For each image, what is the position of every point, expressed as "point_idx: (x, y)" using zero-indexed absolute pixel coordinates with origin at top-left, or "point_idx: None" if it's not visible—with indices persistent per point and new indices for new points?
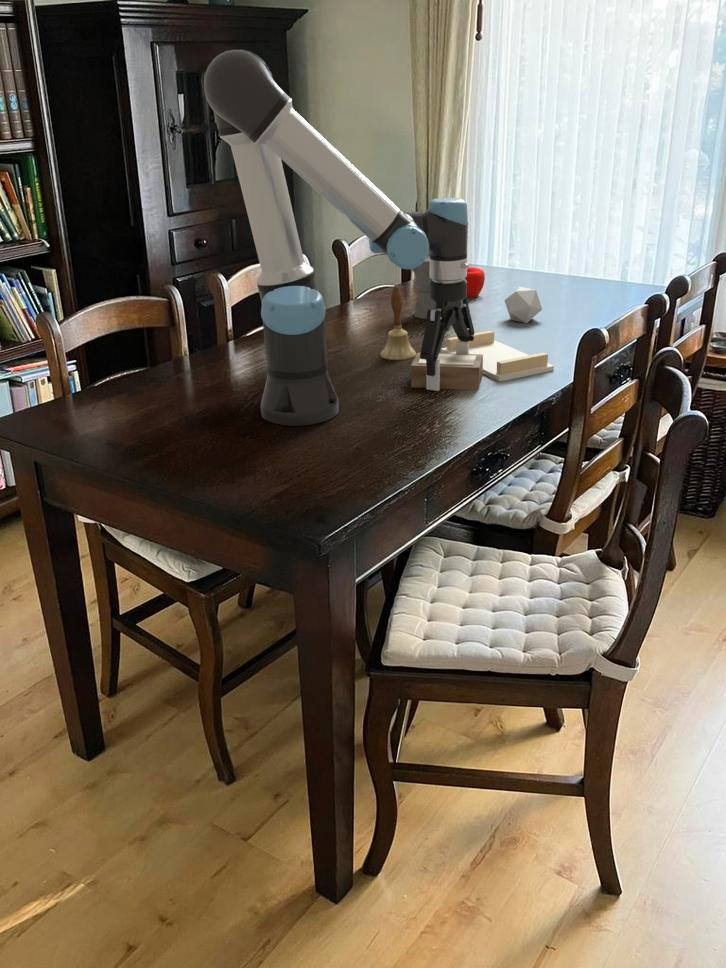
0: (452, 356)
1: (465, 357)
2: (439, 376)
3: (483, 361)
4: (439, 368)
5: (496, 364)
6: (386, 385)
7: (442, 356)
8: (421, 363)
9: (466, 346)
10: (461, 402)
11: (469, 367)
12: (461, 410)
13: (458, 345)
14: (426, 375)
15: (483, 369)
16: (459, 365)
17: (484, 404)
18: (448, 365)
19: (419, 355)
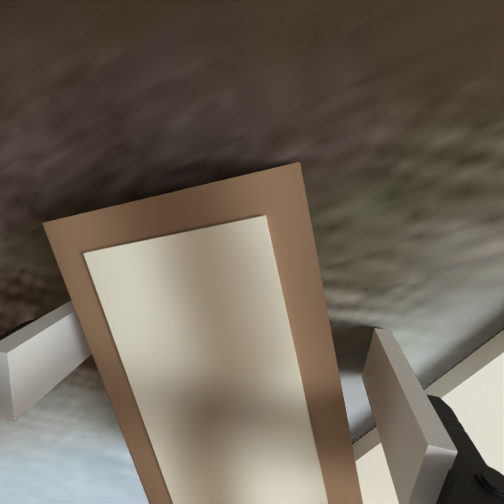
0: (265, 402)
1: (271, 465)
2: (81, 360)
3: (498, 432)
4: (53, 385)
5: None
6: (89, 88)
7: (246, 352)
8: (91, 271)
9: (396, 484)
10: (63, 412)
11: (145, 492)
12: (8, 424)
13: (411, 437)
14: (65, 304)
15: (374, 446)
16: (153, 451)
17: (80, 471)
18: (131, 406)
19: (238, 201)
